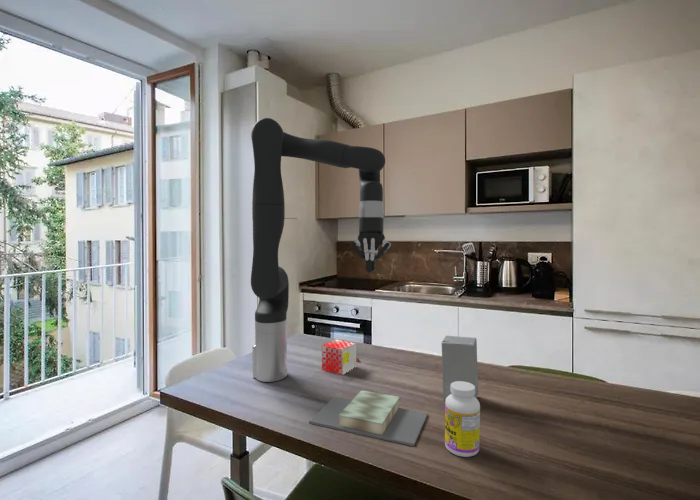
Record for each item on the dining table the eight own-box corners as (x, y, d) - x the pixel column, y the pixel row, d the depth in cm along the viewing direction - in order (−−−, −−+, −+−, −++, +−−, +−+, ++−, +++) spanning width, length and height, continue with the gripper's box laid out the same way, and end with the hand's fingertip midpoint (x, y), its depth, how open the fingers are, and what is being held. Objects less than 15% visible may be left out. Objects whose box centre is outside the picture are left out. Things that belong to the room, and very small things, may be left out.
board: (361, 399, 96) (338, 425, 83) (361, 390, 95) (338, 414, 83) (399, 406, 92) (382, 434, 79) (399, 396, 92) (382, 423, 79)
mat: (309, 423, 85) (309, 421, 85) (335, 398, 97) (335, 396, 97) (413, 446, 75) (413, 444, 75) (427, 415, 88) (427, 413, 88)
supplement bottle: (440, 440, 78) (440, 379, 77) (471, 438, 78) (471, 378, 78) (451, 459, 71) (452, 393, 70) (485, 457, 72) (486, 391, 71)
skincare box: (478, 396, 98) (478, 336, 98) (475, 407, 92) (476, 344, 91) (445, 390, 102) (446, 333, 101) (440, 401, 95) (441, 340, 95)
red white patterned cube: (342, 375, 114) (342, 349, 113) (321, 370, 118) (321, 345, 117) (356, 367, 120) (356, 342, 120) (336, 362, 125) (335, 339, 124)
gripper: (346, 216, 114) (346, 272, 115) (388, 215, 109) (387, 274, 110) (355, 217, 121) (355, 270, 122) (395, 216, 116) (394, 272, 117)
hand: (370, 272), depth 116 cm, fingers closed
